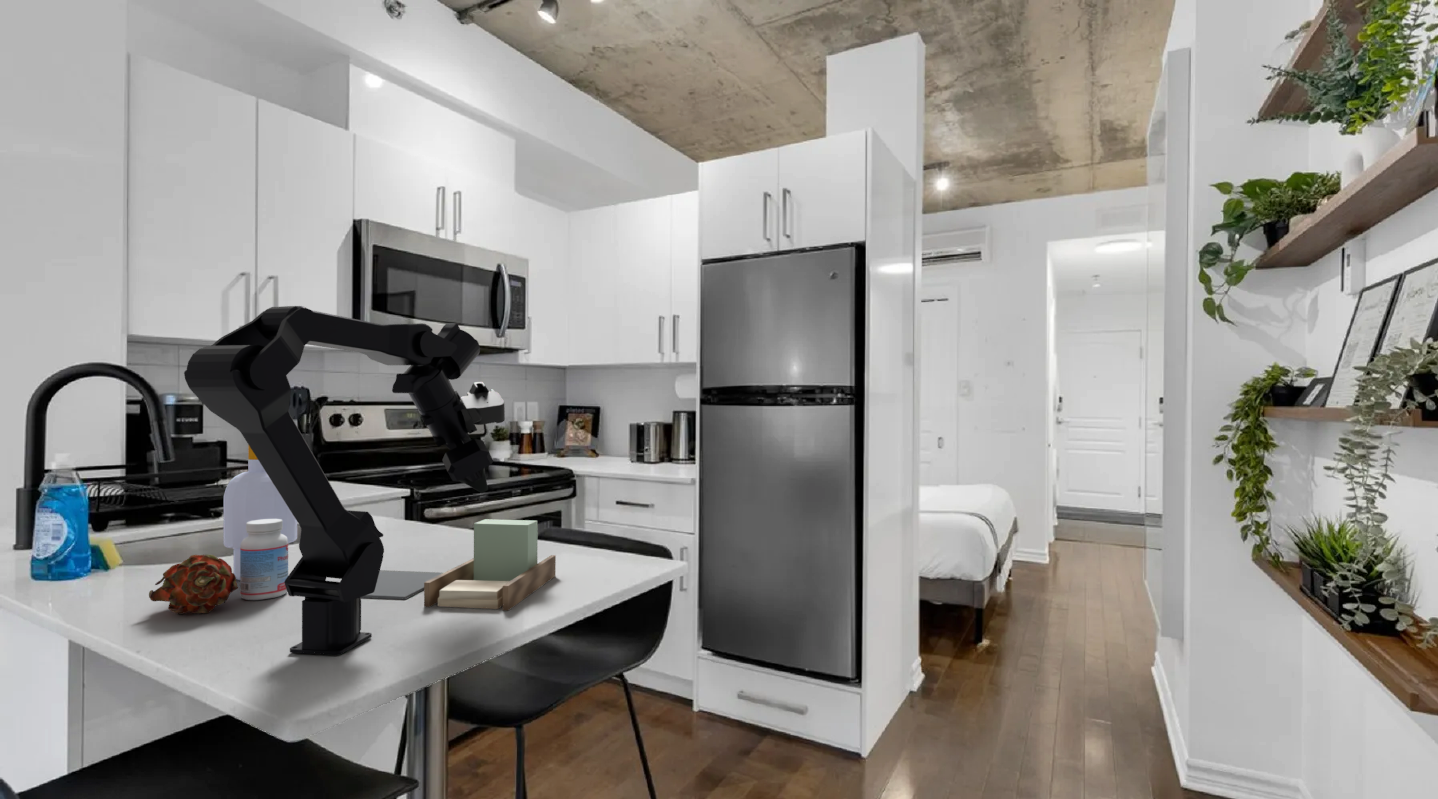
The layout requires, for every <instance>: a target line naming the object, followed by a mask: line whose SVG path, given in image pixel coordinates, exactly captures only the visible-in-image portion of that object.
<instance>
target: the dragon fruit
mask: <svg viewBox="0 0 1438 799" xmlns="http://www.w3.org/2000/svg"><path fill="white" fill-rule="evenodd" d="M232 568H233V567H232V566H231V565H229V563H227V561H226V560H224V559H223V558H220V557H219V558H218V557H217V556H215V555H214V554H201V555H200V554H192V555H190V556H189V557H188V558H187V559H184V560H183V561H182V562H180V563H176V564H174V565H173V564H172V565H171V566H170V567H169V568H168V569H167V570H165V571H164V572H163V573H162V578H160V580H158V581H157V582H156V583H155V584H154V586H158V585H160V584H161V583H162V582H163V583H162V585H161V586H160V587H158V588H157V589H155V590H153V589H151V590H150V591H149V592H148V598H149V600H150V601H151V602H165V603H167V602H169V604H168V610H169V611H170V612H172V613H173V614H176V615H182V614H187V613H193V614H208V613H210V612H212V611H213V610H214V609H215V607H216V606H220V605H222V604H225V603H226V602H227V600H229V599H228V598H229V597H230V594H231V593H233V592H234V591H236V590H238V589H239V586H238V582H237V579H236V577H235V574H234V573H233V569H232Z"/></svg>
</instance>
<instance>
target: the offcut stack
mask: <svg viewBox="0 0 1438 799" xmlns="http://www.w3.org/2000/svg"><path fill="white" fill-rule="evenodd" d="M508 582H509V581H479V580H455V581H454V582H452V583H451V584H449V585H447V586H446V587H444V588H443V589H441V590H439V598H438V603H437V607H447V608H465V609H467V608H469V609H487V610H489V609H490V610H498V609H499V608H501V607H503V585H505V584H506V583H508Z"/></svg>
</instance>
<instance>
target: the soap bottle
mask: <svg viewBox="0 0 1438 799" xmlns="http://www.w3.org/2000/svg"><path fill="white" fill-rule="evenodd" d="M247 444H248V443H247ZM247 446H248V449H247V450H248V453H247V454H248V460H247V462H248V463H247V464H248V465H247V466H248V469H247V471H243V472H241V473H239V474H237V475H235V476H233V477H232V478H231V479H230V480H229V481H228V483H227V486H226V487H225V489H224V490H225V491H224V494H223V546H224V547H225V548H228V549H233V567H232V568H233V569H232V573H234V574H235V577H236V581H240V546H241V542H242V541H243V539H245V538H246V537H248V533H247V531H246V523H247V522H249V521H254V520H261V519H281V520H282V521H283V528H282V530H281V534H283V535H285V536H286V537H287V539H288V544H290V543H293V542H296V541H297V539H298V522H297V520H296V519H295V517H294V516H293V514H292V512H291V511H290V509H289V508H288V506H287V504H286V503H285V501H284V500H283V498H282V497H281V495H280V493H279V492H278V490H277V489H276V487H275V486H274V484H273V482H272V481H271V479H270V478H269V476H268V474H267V473H266V471H265V470H264V468H263V467H262V465H261V463H260V462H259V460H258V459H257V457H256V456H255V454H254V452H253V451H252V449H251V448H250V446H249V444H248V445H247Z"/></svg>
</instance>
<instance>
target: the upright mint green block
mask: <svg viewBox="0 0 1438 799" xmlns="http://www.w3.org/2000/svg"><path fill="white" fill-rule="evenodd" d="M538 527H539V526H538V520H533V519H532V520H529V519H525V520H523V519H494V518H493V519H491V518H489V519H488V518H485V519H482V520H479V521H477V522H474V523H473V558H474V580H479V581H511V580H513V579H514V578H516V577H517V576H519V575H521V574H522V573H524V572H525V571H527V570H528V569H530V568H532V567H533V566H535V565H536V564H538V536H539V534H538V532H539V530H538Z"/></svg>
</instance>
